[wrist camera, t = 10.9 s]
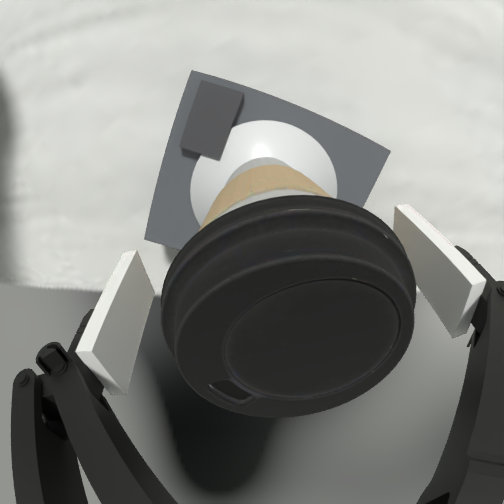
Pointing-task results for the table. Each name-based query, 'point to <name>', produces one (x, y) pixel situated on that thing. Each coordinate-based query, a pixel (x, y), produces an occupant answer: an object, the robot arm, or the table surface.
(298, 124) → the grey dome button box
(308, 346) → the coffee cup
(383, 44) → the table surface
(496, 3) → the table surface
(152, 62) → the table surface
